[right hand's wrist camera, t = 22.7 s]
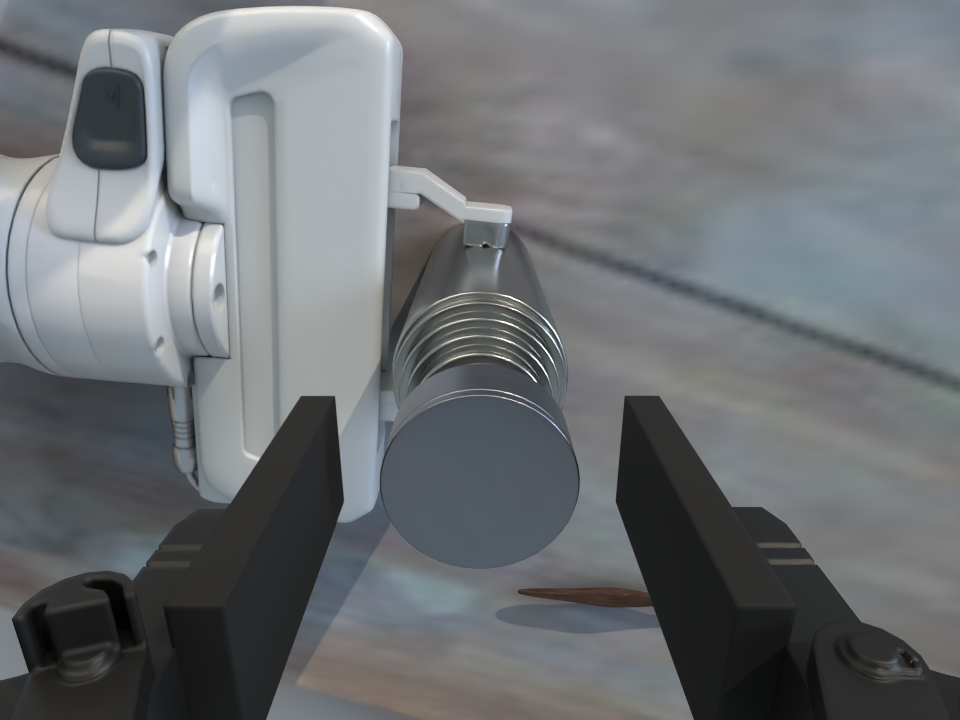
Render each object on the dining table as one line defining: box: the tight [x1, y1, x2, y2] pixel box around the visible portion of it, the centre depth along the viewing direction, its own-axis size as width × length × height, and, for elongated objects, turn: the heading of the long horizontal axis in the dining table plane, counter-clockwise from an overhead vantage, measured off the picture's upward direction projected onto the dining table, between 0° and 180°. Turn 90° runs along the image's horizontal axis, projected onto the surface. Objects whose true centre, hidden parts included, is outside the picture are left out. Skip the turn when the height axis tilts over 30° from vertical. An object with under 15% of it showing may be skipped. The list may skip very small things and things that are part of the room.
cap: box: [380, 364, 580, 568], centre depth 14 cm, size 4×4×2 cm
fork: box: [518, 588, 653, 607], centre depth 37 cm, size 3×16×2 cm, turn 85°
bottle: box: [391, 223, 568, 411], centre depth 23 cm, size 5×5×19 cm
